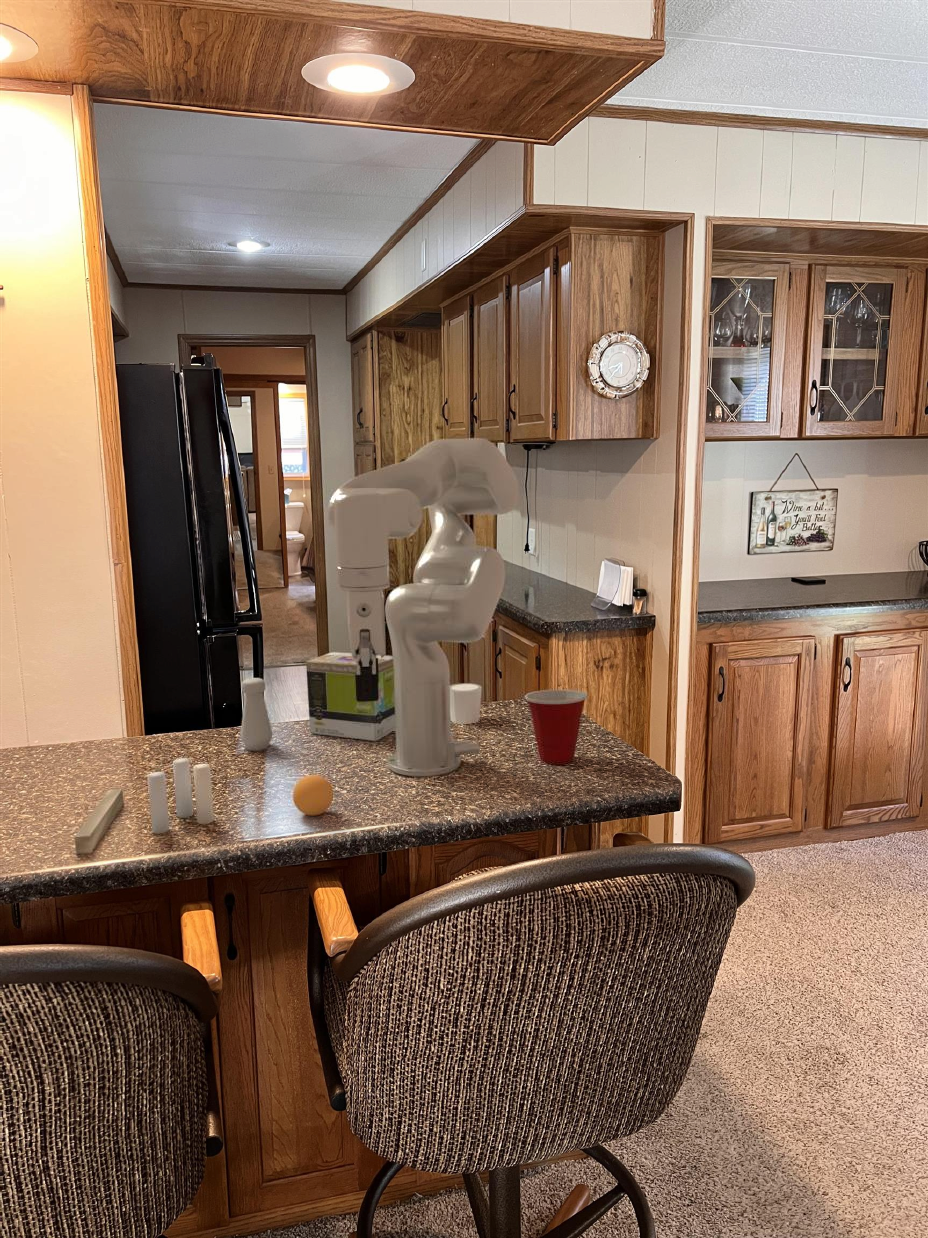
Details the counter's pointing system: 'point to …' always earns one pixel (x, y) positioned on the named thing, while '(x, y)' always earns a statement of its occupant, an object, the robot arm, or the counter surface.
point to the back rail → (99, 821)
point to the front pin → (203, 793)
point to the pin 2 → (183, 788)
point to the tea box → (348, 698)
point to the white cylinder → (465, 703)
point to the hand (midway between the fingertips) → (368, 692)
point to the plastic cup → (556, 722)
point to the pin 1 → (158, 802)
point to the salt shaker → (255, 716)
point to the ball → (313, 795)
